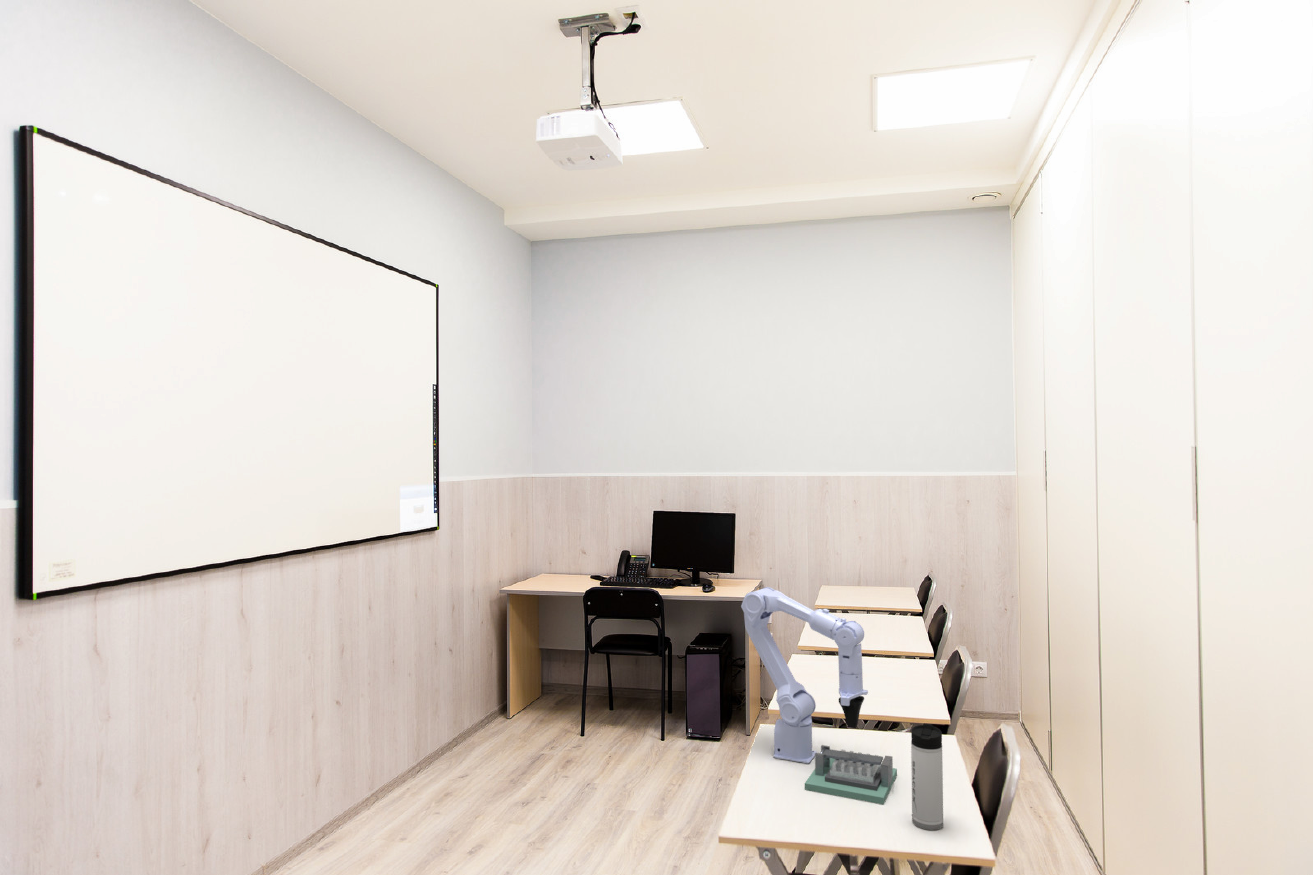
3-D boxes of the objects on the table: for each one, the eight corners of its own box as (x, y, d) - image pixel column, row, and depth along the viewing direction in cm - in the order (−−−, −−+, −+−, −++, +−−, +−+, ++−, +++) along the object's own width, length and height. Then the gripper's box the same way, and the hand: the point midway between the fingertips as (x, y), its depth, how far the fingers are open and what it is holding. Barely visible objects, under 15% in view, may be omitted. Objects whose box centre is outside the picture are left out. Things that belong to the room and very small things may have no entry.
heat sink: (813, 777, 185) (813, 756, 185) (823, 762, 194) (823, 742, 194) (886, 790, 178) (886, 768, 178) (894, 774, 187) (893, 753, 187)
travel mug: (944, 819, 167) (943, 725, 167) (941, 833, 161) (940, 735, 161) (914, 814, 170) (913, 721, 170) (910, 827, 164) (909, 731, 164)
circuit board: (804, 789, 182) (804, 778, 182) (823, 762, 198) (823, 752, 198) (883, 804, 174) (883, 793, 174) (896, 774, 190) (896, 764, 190)
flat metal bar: (818, 757, 188) (818, 753, 188) (822, 751, 191) (822, 747, 191) (880, 766, 181) (879, 761, 181) (883, 760, 185) (883, 755, 185)
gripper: (860, 680, 186) (862, 738, 186) (872, 666, 199) (874, 720, 199) (831, 678, 190) (833, 734, 189) (844, 663, 203) (846, 716, 202)
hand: (852, 726), depth 194 cm, fingers closed
